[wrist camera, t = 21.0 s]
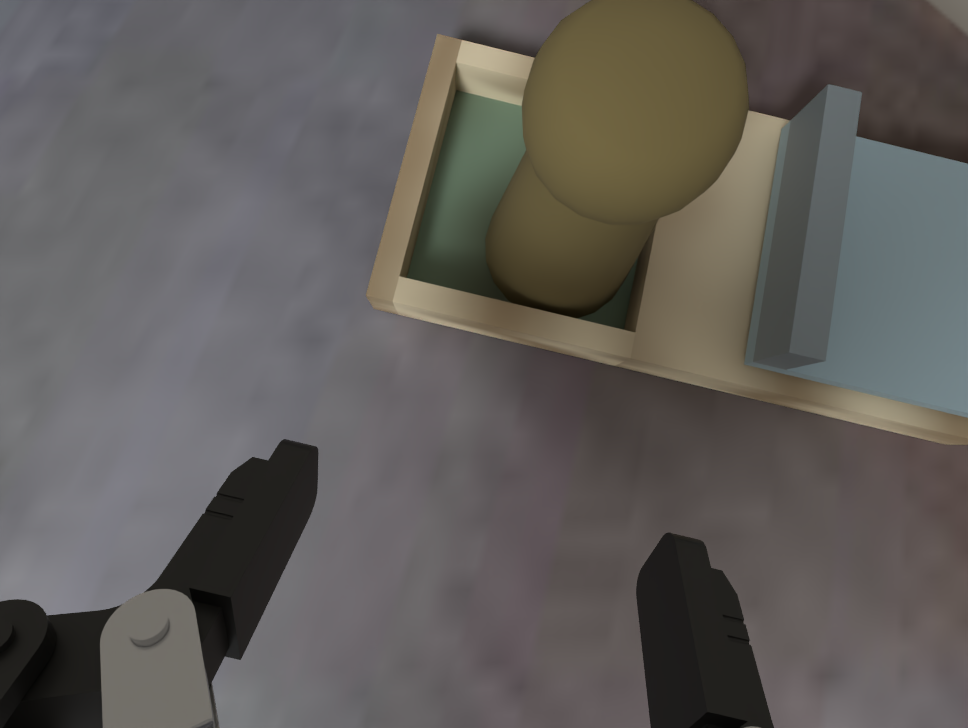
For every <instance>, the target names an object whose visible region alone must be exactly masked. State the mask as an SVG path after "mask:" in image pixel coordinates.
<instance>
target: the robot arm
mask: <svg viewBox="0 0 968 728" xmlns="http://www.w3.org/2000/svg"><path fill="white" fill-rule="evenodd" d="M317 484H318V448H317V447H315V446H311V445H307V444H303V443H299V442H295V441H290V440H286V439H284V440H282V441H281V442H280V443H279V445H278V446H277V448H276V449H275V451H274V452H273V454H272V456H271V457H270V459H269V460H268V461H267V460H263V459H259V458H255V457H252V458H251V459H249V460H248V461H246V462H245V463H244V464H242V465H241V466H239V467H238V468H237V469H235V470H234V471H233V472H231V473H230V475H229V476H228V478H227V479H226V481H225V482H224V484H223V485H222V487H221V488H220V489H219V491H218V492H217V496H216V497H214V498H213V500H212V501H211V503H210V504H209V506H208V507H207V508H206V511H205V513H204V514H202V516H201V517H200V519H199V520H198V522H197V523H196V524H195V526H194V527H193V529H192V530H191V532H190V533H189V535H188V536H187V538H186V539H185V540H184V542H183V543H182V545H181V546H180V548H179V549H178V551H177V552H176V554H175V555H174V557H173V558H172V559H171V561H170V562H169V564H168V565H167V567H166V568H165V570H164V571H163V573H162V574H161V575H160V577H159V578H158V579H157V581H156V582H155V583H154V584H153V585H152V586H151V587H150V588H149V589H147V590H146V591H145V592H144V593H142V594H139V595H137V596H135V597H133V598H131V599H130V600H128V601H127V602H125V603H124V604H122V605H120V606H117V607H114V608H110V609H106V610H100V611H90V612H80V613H69V614H58V615H48V616H47V615H46V613H45V612H44V610H43V609H42V608H41V607H40V606H39V605H38V604H36V603H34V602H31V601H27V600H18V599H17V600H7V601H2V602H0V728H220V727H219V721H218V715H217V709H216V703H215V697H214V691H213V685H212V680H213V678H214V676H215V674H216V672H217V670H218V668H219V667H220V665H221V663H222V661H223V659H224V657H225V656H226V657H230V658H234V659H239V660H241V658H242V656H243V654H244V652H245V650H246V648H247V646H248V644H249V641H250V639H251V637H252V635H253V633H254V631H255V629H256V627H257V625H258V623H259V621H260V619H261V617H262V615H263V612H264V610H265V608H266V606H267V604H268V602H269V600H270V598H271V596H272V594H273V592H274V590H275V588H276V586H277V583H278V581H279V579H280V577H281V575H282V573H283V571H284V569H285V567H286V565H287V563H288V561H289V559H290V557H291V554H292V552H293V550H294V548H295V546H296V544H297V542H298V540H299V538H300V536H301V534H302V532H303V530H304V528H305V526H306V523H307V521H308V519H309V517H310V515H311V512H312V510H313V507H314V504H315V500H316V495H317ZM636 596H637V606H638V615H639V624H640V633H641V642H642V651H643V660H644V669H645V679H646V688H647V697H648V706H649V715H650V724H651V728H774V726H773V723H772V720H771V716H770V713H769V709H768V705H767V702H766V698H765V695H764V691H763V687H762V684H761V680H760V676H759V673H758V669H757V665H756V662H755V658H754V654H753V651H752V647H751V645H749V636H748V632H747V629H746V625H745V624H743V621H744V618H743V614H742V610H741V607H740V603H739V600H738V596H737V594H736V592H735V590H734V589H733V587H732V586H731V584H730V582H729V581H728V579H727V578H726V576H725V574H724V573H723V571H721V570H717V569H713V568H711V566H710V561H709V557H708V553H707V549H706V546H705V544H704V543H703V542H702V541H701V540H698V539H693V538H689V537H685V536H681V535H677V534H673V533H666V534H665V535H664V536H663V537H662V538H661V540H660V541H659V543H658V544H657V546H656V547H655V549H654V550H653V552H652V553H651V555H650V556H649V558H648V559H647V561H646V562H645V564H644V565H643V567H642V568H641V570H640V573H639V576H638V580H637V588H636Z"/></svg>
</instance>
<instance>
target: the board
mask: <svg viewBox="0 0 968 728" xmlns="http://www.w3.org/2000/svg"><path fill="white" fill-rule="evenodd" d="M533 60H534V58H533V57H529V56H525V55H521V54H517V53H513V52H509V51H505V50H501V49H497V48H493V47H489V46H485V45H481V44H476V43H472V42H468V41H464V40H460V39H456V38H452V37H448V36H444V35H440V34H437V37H436V41H435V45H434V48H433V52H432V56H431V59H430V63H429V67H428V70H427V74H426V78H425V81H424V85H423V89H422V92H421V96H420V100H419V103H418V107H417V110H416V114H415V118H414V121H413V125H412V129H411V132H410V136H409V140H408V143H407V147H406V151H405V154H404V158H403V162H402V165H401V169H400V172H399V176H398V180H397V183H396V187H395V191H394V194H393V198H392V202H391V205H390V209H389V213H388V216H387V220H386V224H385V227H384V231H383V235H382V238H381V242H380V245H379V249H378V253H377V256H376V260H375V264H374V267H373V271H372V275H371V278H370V282H369V286H368V289H367V293H366V297H367V298H368V300H369V301H370V303H371V305H372V306H373V308H374V309H377V310H381V311H385V312H390V313H394V314H398V315H402V316H407V317H411V318H415V319H419V320H423V321H428V322H432V323H436V324H440V325H444V326H449V327H453V328H457V329H461V330H465V331H470V332H474V333H478V334H482V335H487V336H491V337H495V338H499V339H503V340H508V341H512V342H516V343H520V344H524V345H529V346H533V347H537V348H541V349H545V350H550V351H554V352H558V353H562V354H567V355H571V356H575V357H579V358H583V359H588V360H592V361H596V362H600V363H604V364H609V365H613V366H617V367H621V368H625V369H630V370H634V371H638V372H642V373H647V374H651V375H655V376H659V377H663V378H668V379H672V380H676V381H680V382H684V383H689V384H693V385H697V386H701V387H705V388H710V389H714V390H718V391H722V392H727V393H731V394H735V395H739V396H743V397H748V398H752V399H756V400H760V401H764V402H769V403H773V404H777V405H781V406H786V407H790V408H794V409H798V410H802V411H807V412H811V413H815V414H819V415H823V416H828V417H832V418H836V419H840V420H844V421H849V422H853V423H857V424H861V425H866V426H870V427H874V428H878V429H882V430H887V431H891V432H895V433H899V434H903V435H908V436H912V437H916V438H920V439H924V440H929V441H933V442H937V443H941V444H946V445H968V418H967V417H963V416H958V415H954V414H950V413H946V412H942V411H937V410H933V409H929V408H925V407H921V406H916V405H912V404H908V403H904V402H900V401H895V400H891V399H887V398H883V397H879V396H875V395H870V394H866V393H862V392H858V391H854V390H849V389H845V388H841V387H837V386H833V385H828V384H824V383H820V382H816V381H812V380H807V379H803V378H799V377H795V376H791V375H786V374H782V373H778V372H774V371H770V370H765V369H761V368H757V367H753V366H749V365H744V361H745V355H746V348H747V342H748V336H749V330H750V323H751V317H752V311H753V304H754V298H755V292H756V286H757V279H758V273H759V267H760V260H761V254H762V248H763V241H764V235H765V229H766V223H767V216H768V210H769V204H770V197H771V191H772V185H773V179H774V172H775V166H776V160H777V153H778V147H779V141H780V135H781V129H782V128H783V127H784V126H785V125H786V124H787V123H788V122H789V121H790V120H786V119H782V118H778V117H774V116H770V115H765V114H761V113H757V112H753V111H749V110H748V114H747V119H746V123H745V127H744V131H743V135H742V139H741V141H740V143H739V145H738V148H737V150H736V152H735V154H734V155H733V157H732V158H731V160H730V161H729V163H728V165H727V166H726V168H725V169H724V171H723V172H722V174H721V175H720V177H719V178H718V180H717V181H716V182H715V183H714V184H713V185H712V186H711V187H710V188H708V189H707V190H706V191H705V192H704V193H703V194H701V195H700V196H699V197H697V198H696V199H695V200H693V201H692V202H691V203H689V204H688V205H687V206H685V207H684V208H683V209H681V210H680V211H678V212H675V213H672V214H670V215H667V216H664V217H661V218H659V220H658V222H657V223H656V225H655V227H654V229H653V231H652V232H651V234H650V236H649V238H648V240H647V241H646V243H645V245H644V247H643V249H642V250H641V252H640V254H639V256H638V258H637V259H636V261H635V263H634V265H633V267H632V268H631V270H630V272H629V274H628V276H627V277H626V279H625V281H624V282H623V284H622V285H621V287H620V288H619V290H618V291H617V293H616V294H615V296H614V297H613V299H612V300H610V301H609V302H608V303H606V304H605V305H604V306H603V307H601V308H600V309H599V310H597V311H596V312H595V313H592V314H589V315H586V316H583V317H580V318H577V319H576V318H572V317H568V316H564V315H560V314H555V313H551V312H547V311H543V310H539V309H534V308H530V307H526V306H522V305H518V304H513V303H511V302H510V301H508V300H507V298H506V297H505V296H504V294H503V293H502V292H501V291H500V289H499V288H498V287H497V286H496V284H495V283H494V281H493V279H492V276H491V273H490V270H489V268H488V265H487V262H486V245H485V238H486V235H487V231H488V228H489V225H490V222H491V218H492V216H493V214H494V212H495V210H496V208H497V206H498V204H499V202H500V200H501V198H502V196H503V194H504V192H505V190H506V189H507V187H508V185H509V183H510V181H511V179H512V177H513V175H514V173H515V171H516V169H517V167H518V165H519V163H520V161H521V159H522V157H523V155H524V153H525V151H526V147H525V143H524V139H523V125H522V101H523V95H524V89H525V86H526V83H527V80H528V76H529V73H530V70H531V67H532V64H533Z"/></svg>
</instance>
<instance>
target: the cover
mask: <svg viewBox="0 0 968 728" xmlns="http://www.w3.org/2000/svg"><path fill="white" fill-rule="evenodd" d="M861 97H862V92H859V91H855V90H851V89H847V88H843V87H839V86H835V85H831V84H828V85H827V86H826V87H825V88H824V89H823V90H822V91H821V92H820V93H819V94H817V95H816V96H815V97H814V98H813V99H812V100H811V101H810V102H809V103H808V104H807V105H806V106H805V107H804V108H803V109H802V110H801V111H800V112H799V113H798V114H797V115H796V116H795V117H794V118H793V119H792V120H790V121H789V122H788V123H787V124H786V125H785V126H784V127H783V128H782V129H781V135H780V141H779V147H778V153H777V160H776V166H775V172H774V179H773V185H772V191H771V197H770V204H769V210H768V216H767V223H766V229H765V235H764V241H763V248H762V254H761V260H760V267H759V273H758V279H757V286H756V292H755V298H754V304H753V311H752V317H751V323H750V330H749V336H748V342H747V348H746V355H745V361H744V365H749V366H753V367H757V368H761V369H765V370H770V371H774V372H778V373H782V374H786V375H791V376H795V377H799V378H803V379H807V380H812V381H816V382H820V383H824V384H828V385H833V386H837V387H841V388H845V389H849V390H854V391H858V392H862V393H866V394H870V395H875V396H879V397H883V398H887V399H891V400H895V401H900V402H904V403H908V404H912V405H916V406H921V407H925V408H929V409H933V410H937V411H942V412H946V413H950V414H954V415H958V416H963V417H967V418H968V164H967V163H963V162H959V161H955V160H951V159H947V158H942V157H938V156H934V155H930V154H926V153H922V152H918V151H914V150H910V149H906V148H902V147H898V146H894V145H890V144H885V143H881V142H877V141H873V140H869V139H865V138H861V137H857V136H856V133H857V126H858V119H859V111H860V104H861Z"/></svg>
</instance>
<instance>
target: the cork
mask: <svg viewBox="0 0 968 728" xmlns="http://www.w3.org/2000/svg"><path fill="white" fill-rule="evenodd" d="M748 110H749V99H748V86H747V76H746V67H745V62H744V60H743V58H742V56H741V53H740V51H739V49H738V47H737V45H736V42H735V40H734V38H733V36H732V35H731V34H730V33H729V32H728V31H727V29H726V28H725V27H724V26H723V25H722V24H721V22H720V21H719V20H718V19H717V18H716V17H715V16H714V14H712V13H711V12H709V11H708V10H706V9H705V8H703V7H701V6H700V5H698V4H697V3H695V2H694V1H692V0H591V1H589V2H588V3H586V4H585V5H583V6H582V7H580V8H579V9H577V10H576V11H574V12H573V13H571V14H570V15H568V16H567V17H565V18H564V19H562V20H561V21H560V22H559V24H558V25H557V26H556V28H555V29H554V30H553V32H552V33H551V34H550V36H549V37H548V38H547V40H546V41H545V42H544V44H543V45H542V47H541V48H540V50H539V52H538V53H537V55H536V57H535V58H534V60H533V64H532V67H531V70H530V73H529V76H528V80H527V83H526V86H525V89H524V95H523V101H522V125H523V139H524V143H525V147H526V151H525V153H524V155H523V157H522V159H521V161H520V163H519V165H518V167H517V169H516V171H515V173H514V175H513V177H512V179H511V181H510V183H509V185H508V187H507V189H506V190H505V192H504V194H503V196H502V198H501V200H500V202H499V204H498V206H497V208H496V210H495V212H494V214H493V216H492V218H491V222H490V225H489V228H488V231H487V235H486V238H485V245H486V262H487V265H488V268H489V270H490V273H491V276H492V279H493V281H494V283H495V284H496V286H497V287H498V288H499V289H500V291H501V292H502V293H503V294H504V296H505V297H506V298H507V300H508V301H510V302H511V303H513V304H518V305H522V306H526V307H530V308H534V309H539V310H543V311H547V312H551V313H555V314H560V315H564V316H568V317H572V318H576V319H577V318H580V317H583V316H586V315H589V314H592V313H595V312H596V311H597V310H599V309H600V308H601V307H603V306H604V305H605V304H606V303H608V302H609V301H610V300H612V299H613V297H614V296H615V294H616V293H617V291H618V290H619V288H620V287H621V285H622V284H623V282H624V281H625V279H626V277H627V276H628V274H629V272H630V270H631V268H632V267H633V265H634V263H635V261H636V259H637V258H638V256H639V254H640V252H641V250H642V249H643V247H644V245H645V243H646V241H647V240H648V238H649V236H650V234H651V232H652V231H653V229H654V227H655V225H656V223H657V222H658V220H659V218H661V217H664V216H667V215H670V214H672V213H675V212H678V211H680V210H681V209H683V208H684V207H685V206H687V205H688V204H689V203H691V202H692V201H693V200H695V199H696V198H697V197H699V196H700V195H701V194H703V193H704V192H705V191H706V190H707V189H708V188H710V187H711V186H712V185H713V184H714V183H715V182H716V181H717V180H718V178H719V177H720V175H721V174H722V172H723V171H724V169H725V168H726V166H727V165H728V163H729V161H730V160H731V158H732V157H733V155H734V154H735V152H736V150H737V148H738V145H739V143H740V141H741V139H742V135H743V131H744V127H745V123H746V119H747V114H748Z"/></svg>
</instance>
